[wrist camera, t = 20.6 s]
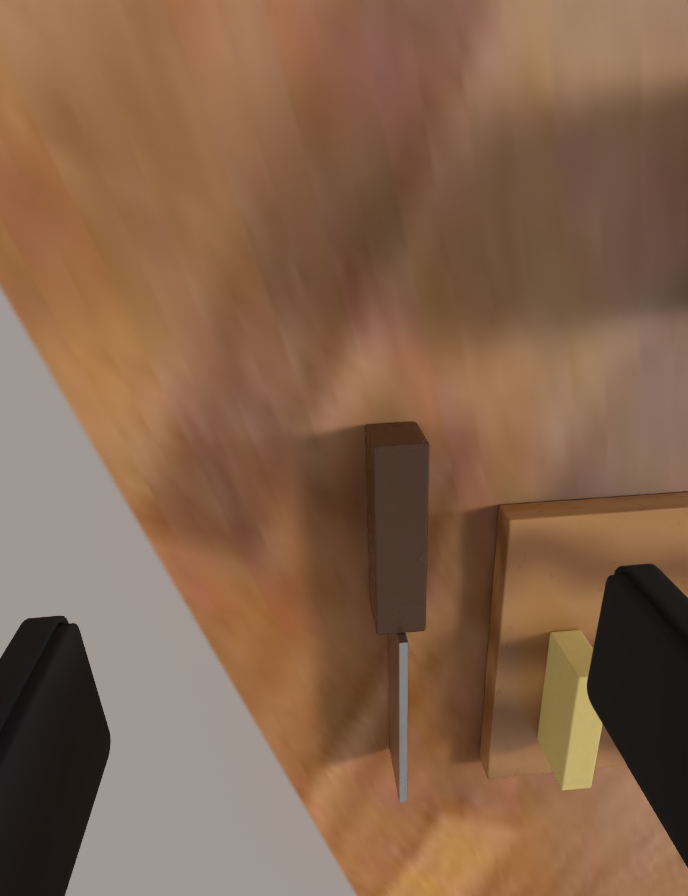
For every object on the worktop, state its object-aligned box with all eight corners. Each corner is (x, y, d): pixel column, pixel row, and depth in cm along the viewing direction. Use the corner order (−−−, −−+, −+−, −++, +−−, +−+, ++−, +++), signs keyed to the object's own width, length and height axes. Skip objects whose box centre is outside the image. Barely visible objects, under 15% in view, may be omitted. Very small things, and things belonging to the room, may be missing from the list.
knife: (365, 423, 24) (375, 452, 21) (416, 420, 24) (433, 449, 21) (373, 749, 31) (381, 804, 28) (412, 745, 32) (425, 800, 29)
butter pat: (549, 631, 27) (578, 678, 25) (579, 628, 27) (612, 675, 25) (536, 738, 30) (561, 791, 27) (564, 735, 30) (591, 788, 27)
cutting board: (498, 504, 26) (509, 520, 25) (867, 478, 27) (897, 492, 26) (479, 755, 32) (487, 780, 31) (781, 725, 33) (802, 748, 32)
